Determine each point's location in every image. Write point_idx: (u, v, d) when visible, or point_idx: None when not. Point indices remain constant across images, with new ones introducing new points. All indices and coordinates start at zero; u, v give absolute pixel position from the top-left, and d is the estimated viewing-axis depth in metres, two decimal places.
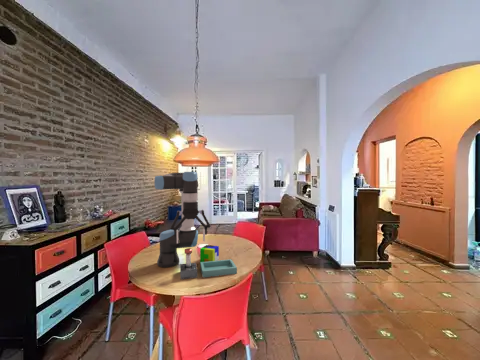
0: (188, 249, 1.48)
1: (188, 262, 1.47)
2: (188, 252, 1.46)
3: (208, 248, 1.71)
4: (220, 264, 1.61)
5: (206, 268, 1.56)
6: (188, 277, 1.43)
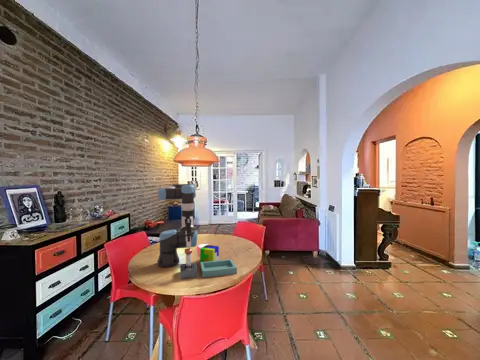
0: (188, 249, 1.48)
1: (188, 262, 1.47)
2: (188, 252, 1.46)
3: (208, 248, 1.71)
4: (220, 264, 1.61)
5: (206, 268, 1.56)
6: (188, 277, 1.43)
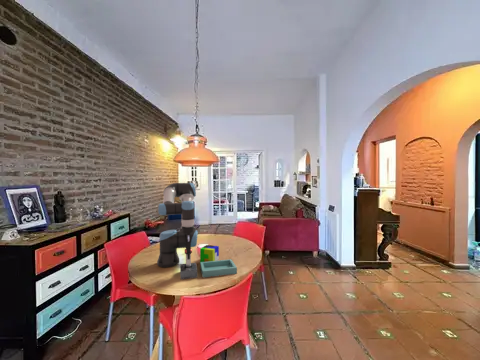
0: None
1: None
2: None
3: (208, 248, 1.71)
4: (220, 264, 1.61)
5: (206, 268, 1.56)
6: (188, 277, 1.43)
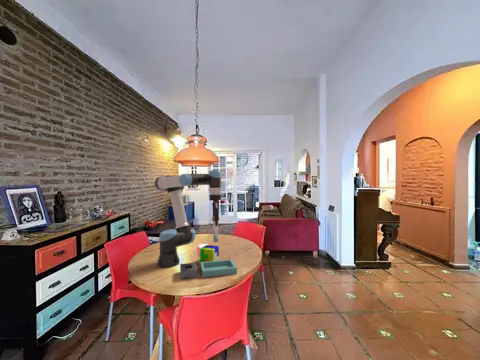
0: None
1: None
2: None
3: (208, 248, 1.71)
4: (220, 264, 1.61)
5: (206, 268, 1.56)
6: (188, 277, 1.43)
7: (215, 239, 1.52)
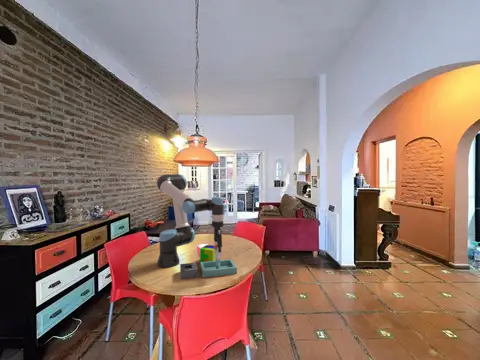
0: None
1: (218, 257, 1.53)
2: None
3: (208, 248, 1.71)
4: (220, 264, 1.61)
5: (206, 268, 1.56)
6: (188, 277, 1.43)
7: (217, 267, 1.53)
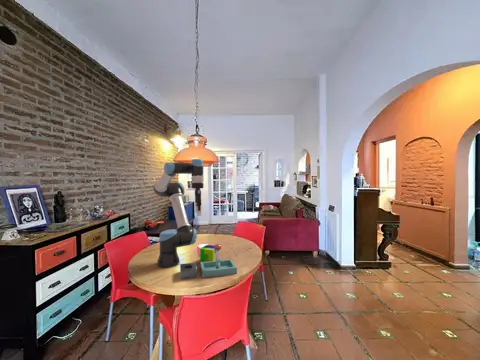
0: (217, 245, 1.54)
1: (218, 257, 1.53)
2: (218, 248, 1.52)
3: (208, 248, 1.71)
4: (220, 264, 1.61)
5: (206, 268, 1.56)
6: (188, 277, 1.43)
7: (217, 267, 1.53)
